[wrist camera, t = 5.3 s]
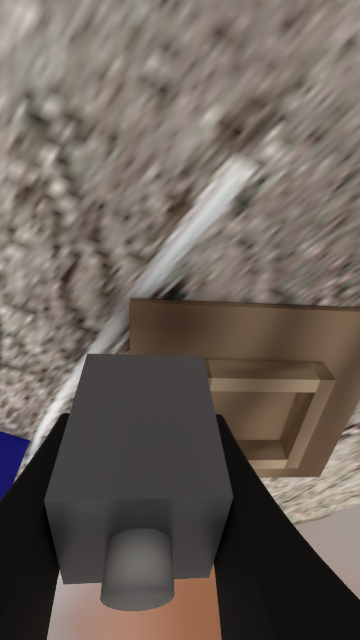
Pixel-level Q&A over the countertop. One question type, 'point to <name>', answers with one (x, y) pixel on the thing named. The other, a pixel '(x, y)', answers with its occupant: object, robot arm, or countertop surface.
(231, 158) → the countertop surface
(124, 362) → the connector plug
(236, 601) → the robot arm
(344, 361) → the end holder
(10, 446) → the cable clip
